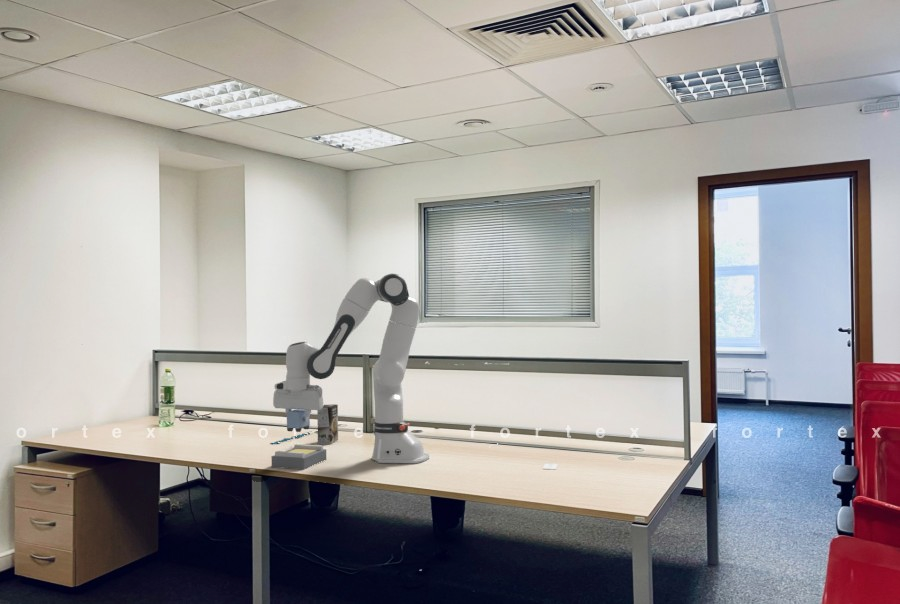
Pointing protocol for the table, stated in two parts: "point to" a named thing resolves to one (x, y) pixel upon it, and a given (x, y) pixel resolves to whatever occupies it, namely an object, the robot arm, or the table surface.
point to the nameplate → (289, 438)
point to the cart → (297, 420)
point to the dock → (299, 456)
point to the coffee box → (327, 424)
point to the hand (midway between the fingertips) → (298, 420)
